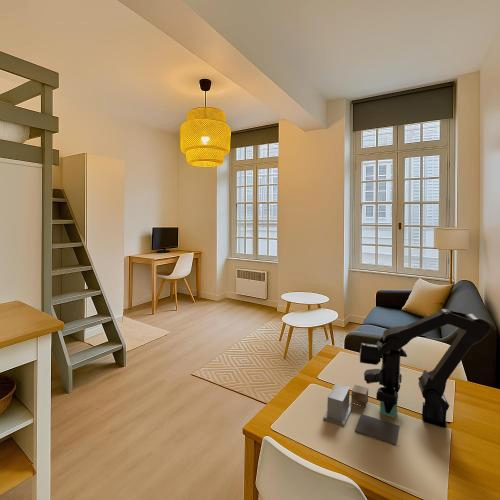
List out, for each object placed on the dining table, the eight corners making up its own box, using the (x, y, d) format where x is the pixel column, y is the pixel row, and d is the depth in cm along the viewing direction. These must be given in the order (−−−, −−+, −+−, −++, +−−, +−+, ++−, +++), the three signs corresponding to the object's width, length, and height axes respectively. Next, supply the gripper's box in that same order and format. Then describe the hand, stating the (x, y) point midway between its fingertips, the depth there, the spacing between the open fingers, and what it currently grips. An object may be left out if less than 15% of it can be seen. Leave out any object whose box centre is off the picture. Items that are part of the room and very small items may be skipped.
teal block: (396, 410, 112) (397, 396, 112) (395, 417, 108) (396, 403, 107) (381, 406, 115) (382, 392, 114) (379, 413, 110) (380, 399, 110)
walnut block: (367, 400, 118) (368, 388, 117) (365, 407, 114) (365, 394, 113) (354, 397, 120) (354, 384, 120) (351, 403, 116) (351, 390, 116)
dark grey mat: (399, 426, 103) (399, 425, 103) (396, 445, 95) (396, 443, 94) (360, 415, 109) (360, 413, 109) (354, 431, 100) (354, 430, 100)
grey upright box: (352, 407, 113) (353, 386, 113) (344, 426, 103) (345, 403, 102) (332, 402, 117) (333, 381, 116) (323, 419, 107) (323, 397, 106)
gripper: (370, 351, 122) (369, 390, 123) (361, 371, 106) (359, 415, 107) (402, 358, 116) (400, 398, 118) (397, 380, 100) (395, 426, 102)
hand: (388, 408), depth 111 cm, fingers closed on teal block, 5 cm apart
